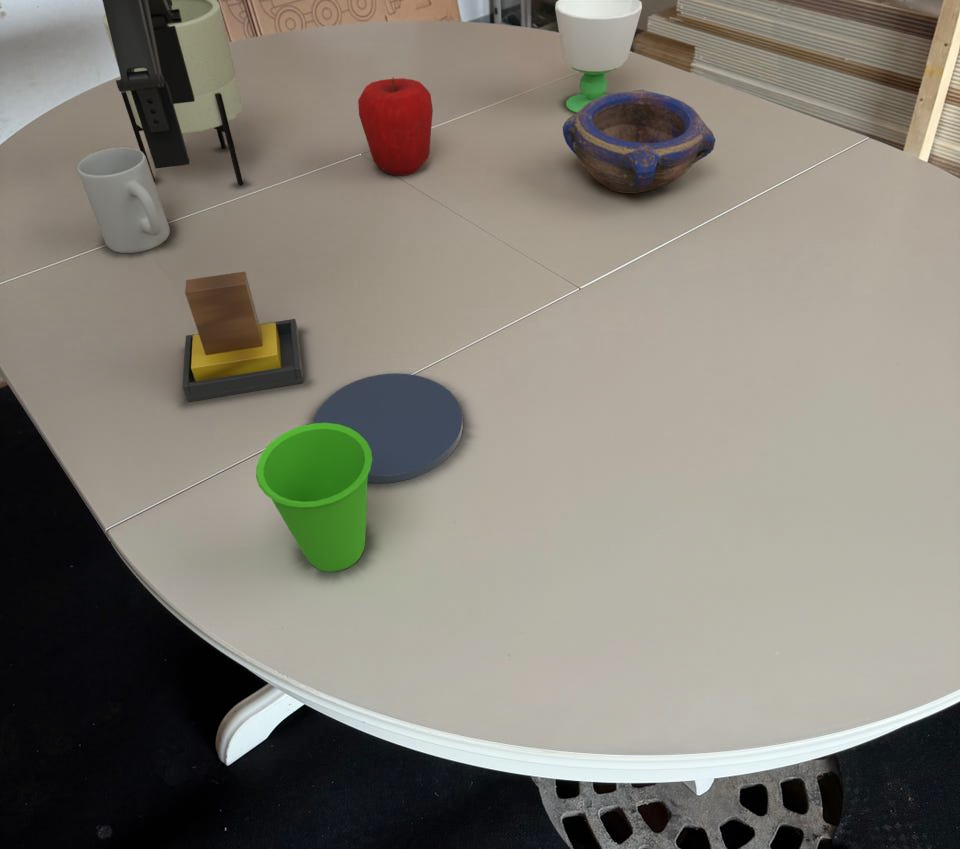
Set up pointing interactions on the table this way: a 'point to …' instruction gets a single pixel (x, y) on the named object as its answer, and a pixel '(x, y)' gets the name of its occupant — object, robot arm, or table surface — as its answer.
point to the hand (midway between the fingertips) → (176, 131)
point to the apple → (397, 124)
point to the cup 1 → (320, 490)
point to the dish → (249, 381)
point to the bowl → (637, 139)
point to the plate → (398, 422)
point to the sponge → (229, 329)
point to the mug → (124, 199)
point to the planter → (201, 76)
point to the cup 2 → (595, 41)
